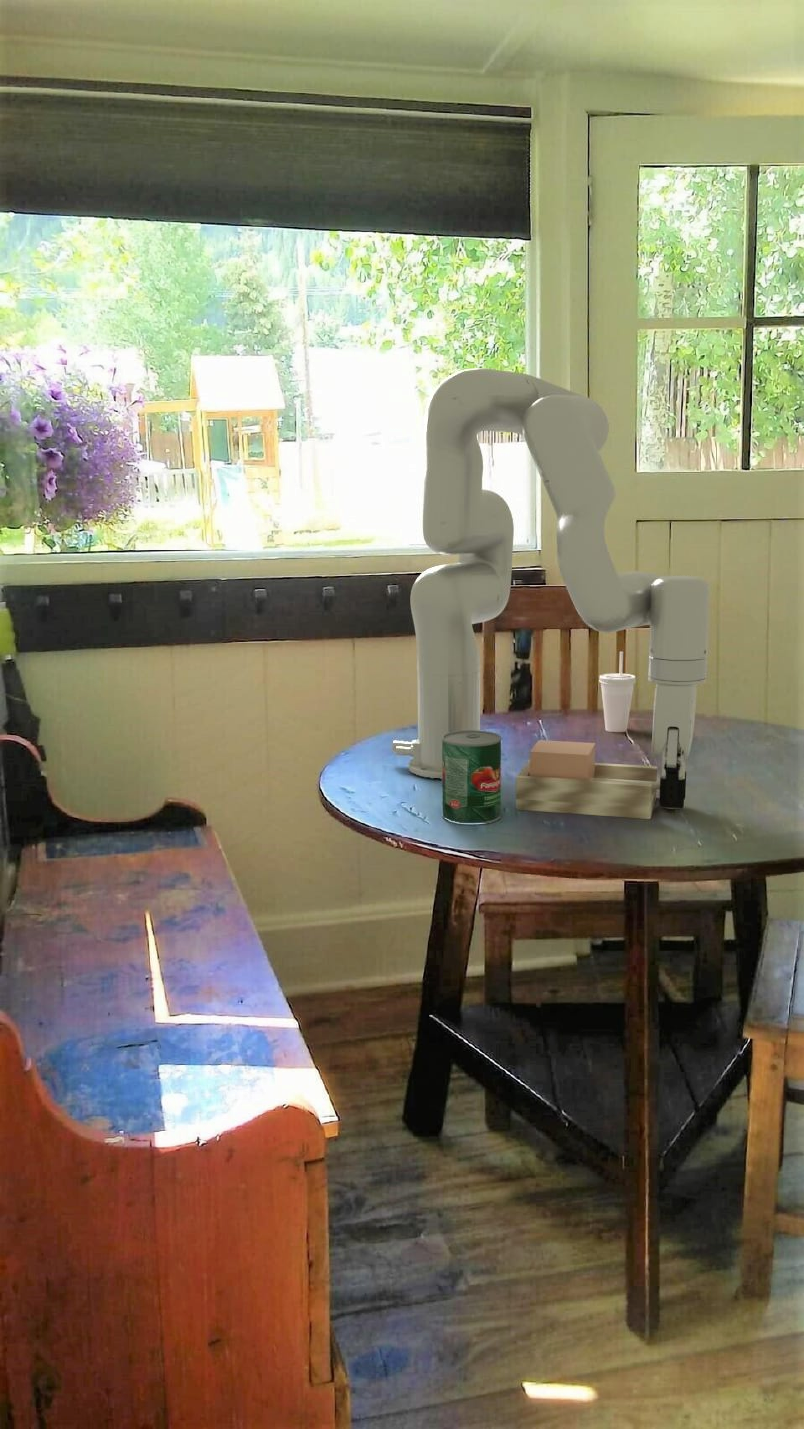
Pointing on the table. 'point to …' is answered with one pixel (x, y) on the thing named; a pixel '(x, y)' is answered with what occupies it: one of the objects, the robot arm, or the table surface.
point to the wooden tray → (590, 792)
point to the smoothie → (617, 698)
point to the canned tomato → (471, 776)
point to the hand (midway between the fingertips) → (672, 802)
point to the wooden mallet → (570, 762)
